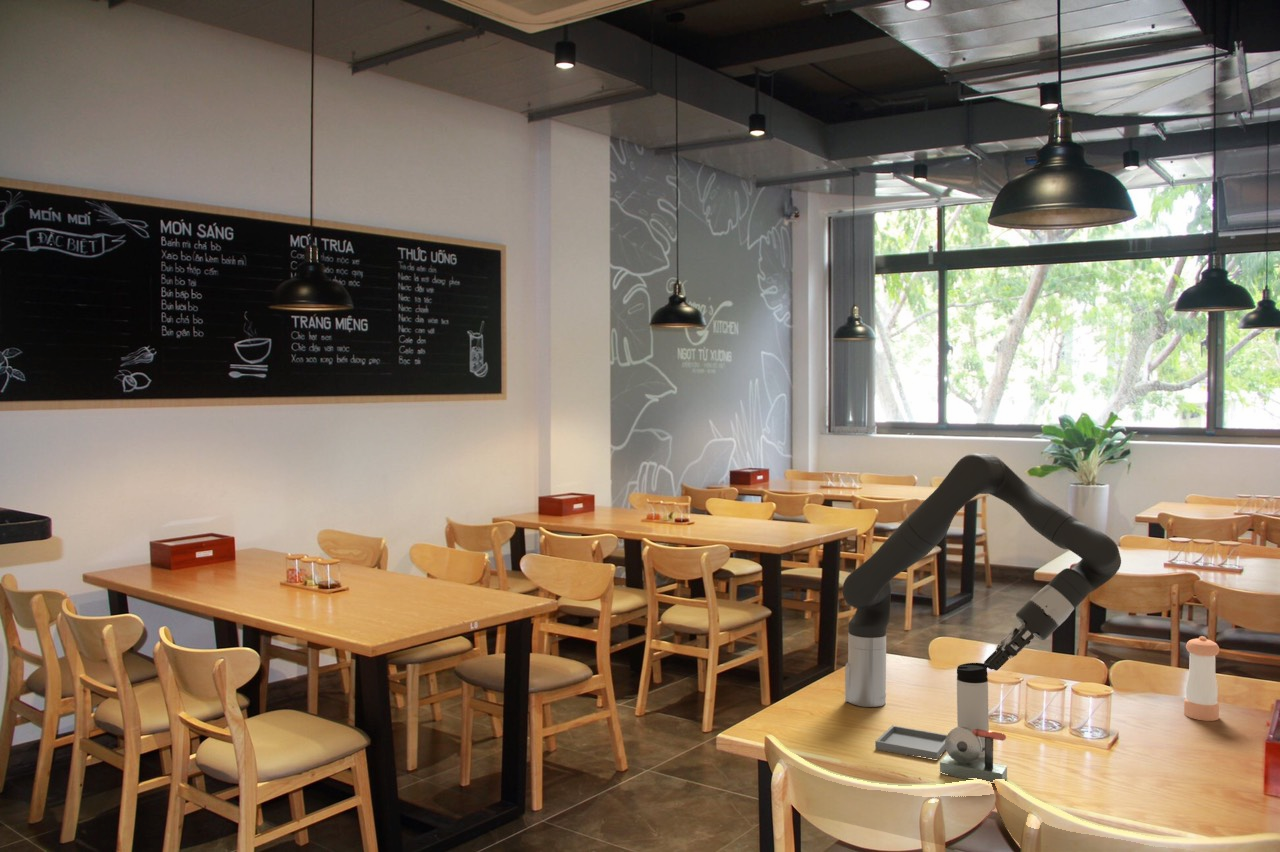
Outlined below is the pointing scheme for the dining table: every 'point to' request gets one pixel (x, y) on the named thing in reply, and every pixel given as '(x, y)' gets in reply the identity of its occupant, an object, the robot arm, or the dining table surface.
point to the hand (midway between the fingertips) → (989, 667)
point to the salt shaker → (1202, 680)
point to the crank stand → (971, 755)
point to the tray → (912, 742)
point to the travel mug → (973, 699)
